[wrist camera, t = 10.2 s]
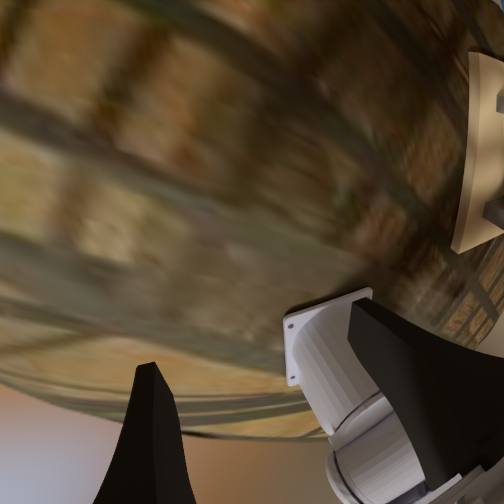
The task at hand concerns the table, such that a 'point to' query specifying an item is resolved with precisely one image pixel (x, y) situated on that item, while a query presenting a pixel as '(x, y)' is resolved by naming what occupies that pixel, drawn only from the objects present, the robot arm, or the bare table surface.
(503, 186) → the roll holder
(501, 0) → the key chain
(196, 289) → the table surface
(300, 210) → the table surface
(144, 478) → the robot arm
